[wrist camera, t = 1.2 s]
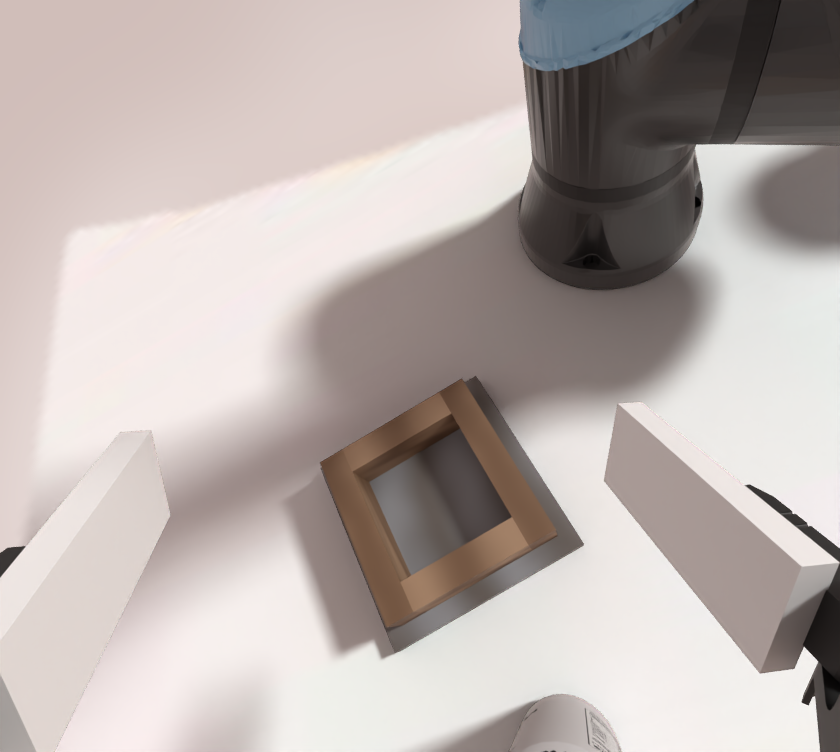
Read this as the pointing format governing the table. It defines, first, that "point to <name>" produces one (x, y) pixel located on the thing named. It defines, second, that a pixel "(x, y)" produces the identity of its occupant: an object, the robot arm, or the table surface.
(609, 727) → the energy drink can
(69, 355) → the table surface
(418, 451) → the brown wooden open box
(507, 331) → the table surface
